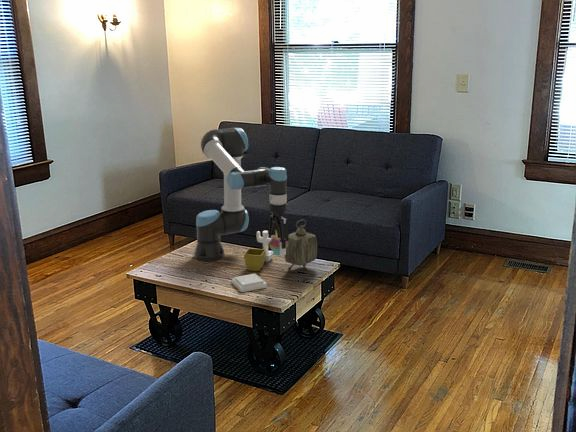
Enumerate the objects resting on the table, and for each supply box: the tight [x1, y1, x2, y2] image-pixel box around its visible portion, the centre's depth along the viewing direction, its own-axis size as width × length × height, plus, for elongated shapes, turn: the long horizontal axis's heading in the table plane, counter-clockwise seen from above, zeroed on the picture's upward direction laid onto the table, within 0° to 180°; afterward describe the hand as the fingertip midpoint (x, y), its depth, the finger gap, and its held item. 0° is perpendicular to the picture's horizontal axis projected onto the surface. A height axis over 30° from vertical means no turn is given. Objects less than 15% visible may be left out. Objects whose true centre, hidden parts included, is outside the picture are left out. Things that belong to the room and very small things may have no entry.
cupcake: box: [268, 230, 288, 256], centre depth 269 cm, size 9×8×12 cm
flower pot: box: [243, 248, 266, 272], centre depth 290 cm, size 9×9×9 cm
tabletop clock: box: [284, 218, 318, 272], centre depth 287 cm, size 14×9×25 cm, turn 136°
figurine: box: [256, 230, 274, 262], centre depth 302 cm, size 7×9×15 cm
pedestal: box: [231, 273, 268, 293], centre depth 272 cm, size 12×12×3 cm
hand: (278, 251), depth 270 cm, fingers closed on cupcake, 8 cm apart
